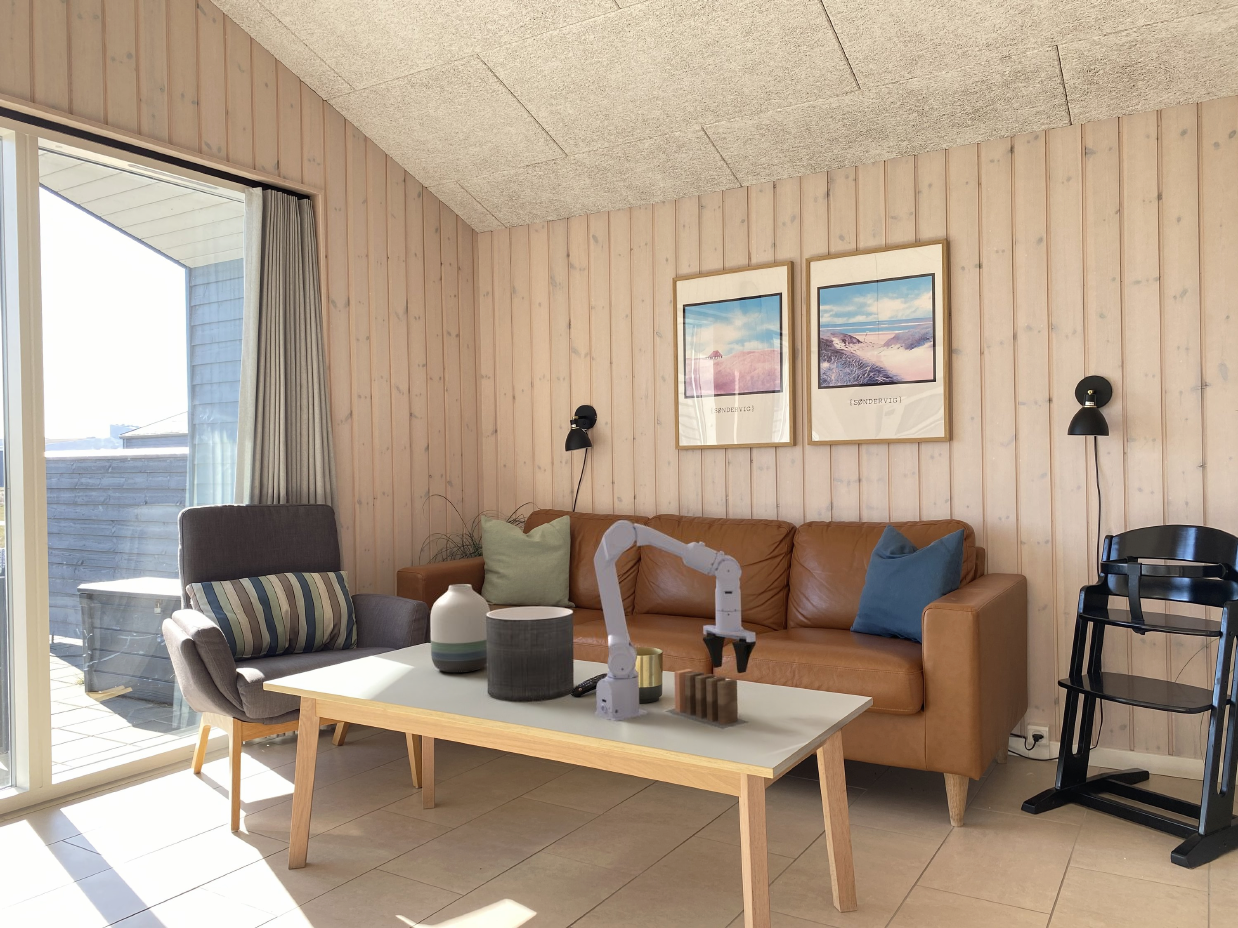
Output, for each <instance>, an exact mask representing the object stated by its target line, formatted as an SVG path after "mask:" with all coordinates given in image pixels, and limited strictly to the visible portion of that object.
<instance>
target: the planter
mask: <svg viewBox="0 0 1238 928" xmlns="http://www.w3.org/2000/svg"><path fill="white" fill-rule="evenodd" d="M486 639H487V664H486V670H487V674H486V676H487V695H489V696H490V697H492V698H494V699H496V700H502V701H507V702H522V703H523V702H524V703H525V702H542V701H543V702H544V701H549V700H555V699H558V698H562V697H565V696H568V695H570V694H571V693H572V692H573V691H574V690H575V684H574V683H575V682H574V681H575V680H574V678H575V677H574V675H575V674H574V670H575V667H574V664H575V663H574V662H575V661H574V655H575V653H574V611H573V610H572V609H570V608H565V607H557V606H520V607H519V606H518V607H507V608H501V609H500V608H499V609H495V610H492V611H491V610H490V612H488V613H487V614H486ZM573 689H574V690H573ZM572 690H573V691H572ZM571 691H572V692H571Z"/></svg>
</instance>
